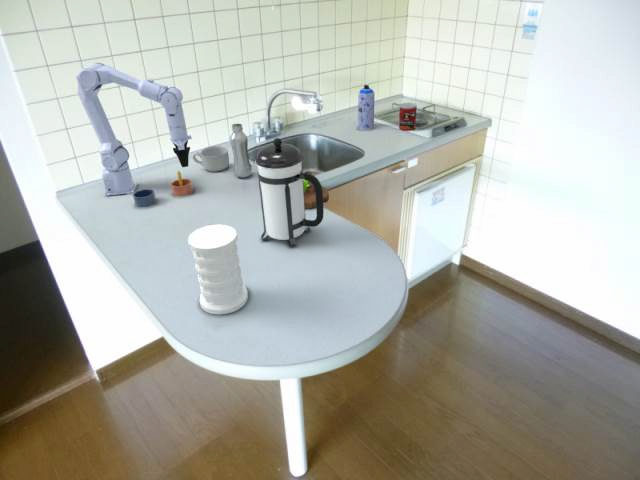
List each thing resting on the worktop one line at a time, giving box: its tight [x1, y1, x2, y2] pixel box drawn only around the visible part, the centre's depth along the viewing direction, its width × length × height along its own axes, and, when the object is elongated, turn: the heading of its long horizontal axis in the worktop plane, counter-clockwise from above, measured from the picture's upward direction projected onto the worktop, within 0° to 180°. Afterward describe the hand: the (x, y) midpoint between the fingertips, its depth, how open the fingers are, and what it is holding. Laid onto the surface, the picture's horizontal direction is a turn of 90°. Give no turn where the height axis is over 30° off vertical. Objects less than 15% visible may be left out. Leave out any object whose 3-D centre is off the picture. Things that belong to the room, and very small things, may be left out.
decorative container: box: [187, 223, 249, 316], centre depth 109 cm, size 12×12×18 cm
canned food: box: [398, 102, 418, 132], centre depth 218 cm, size 8×8×11 cm
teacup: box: [192, 145, 230, 173], centre depth 184 cm, size 14×11×8 cm
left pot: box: [132, 188, 158, 208], centre depth 161 cm, size 7×7×4 cm
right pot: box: [170, 178, 194, 197], centre depth 167 cm, size 7×7×4 cm
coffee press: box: [254, 137, 325, 248], centre depth 131 cm, size 17×16×30 cm
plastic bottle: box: [229, 123, 253, 178], centre depth 174 cm, size 6×7×20 cm
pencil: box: [176, 170, 183, 186], centre depth 166 cm, size 1×1×8 cm
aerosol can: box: [357, 84, 376, 132], centre depth 218 cm, size 8×8×20 cm
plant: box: [303, 170, 330, 210], centre depth 158 cm, size 20×20×11 cm
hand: (184, 162), depth 166 cm, fingers open, 7 cm apart
